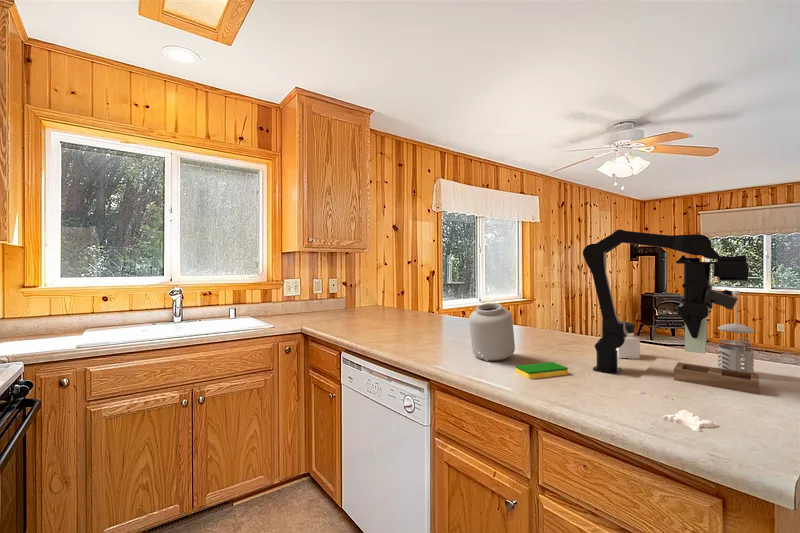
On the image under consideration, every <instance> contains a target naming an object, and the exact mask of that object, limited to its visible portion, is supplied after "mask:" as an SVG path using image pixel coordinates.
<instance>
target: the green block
mask: <svg viewBox="0 0 800 533" xmlns="http://www.w3.org/2000/svg"><path fill="white" fill-rule="evenodd" d="M707 327H708V316H707V317H706V318H704V319H703V320H702V322H701V326H700V330H699V334H698V337H697V338H692V336H691V334H690V332H689V330H688V328H687V326H686V324H685V323H684V352H685V353H686V352H688V353H695V354H703V355H705V354H706V353H707V342H708V341H707V340H708V339H707V338H708V337H707V334H708V332H707V331H708V328H707Z"/></svg>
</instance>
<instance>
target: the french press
mask: <svg viewBox="0 0 800 533" xmlns="http://www.w3.org/2000/svg"><path fill="white" fill-rule="evenodd" d="M732 295H733V296H734V295H735V297H737V298H738V296H741V291H740V290H733V291H732ZM737 306H738V301H737V302H736V304H735V322H734V323H726V324H722V325H720V326H718V327H717V329H718V330H719V331H721V332H727V333H733V334H734V335H735V337H734V339H735V340H732V339H722V340H720V341H719V342H720V344H721V345H718V347H717V353H718V354H717V357H718V359H717V362H718V363H717V365H718V366H717V368H721V369H728V370H734V371H741V372H748V373H755V371H754V369H755V368H754V367H755V366H754V365H755V364H754V363H755V362H754V360H755V359H754V358H755V356H754V355H755V350H754V349H753V344H752V342H751V339H750V338H749V336H746V338H745V340H743V338H742V336H738V340H737V334H753V333H754V332H755V330H754V329H753V328H751V327H749V326H747V325H744V324H739V323H737V322H738V320H737V316H738V315H737V312H738V310H737V309H738V307H737ZM747 341H748V342H747Z"/></svg>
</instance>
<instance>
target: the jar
mask: <svg viewBox="0 0 800 533" xmlns="http://www.w3.org/2000/svg"><path fill="white" fill-rule="evenodd" d="M487 289H488V290H487V292H490V287H487ZM488 297H490V298H491V299H492V300H493V296H491V294H489V296H488ZM484 298H485V297H482V300H484ZM468 324H469V331H470V332H469V334H470V340H471V341H470V342H471V349H472V353H473V355H474V356H476V357H477V358H479V359H480V360H484V361H490V362H491V361H492V362H494V361H495V362H497V361H503V360H505V359H508V358H510V357H511V356H512V355H513V354H514V353H515V351H516V350H515V349H516V345H515V333H514V322H513V314H512V312H510V311H509V310H508V309H506V308H504V307H503V305H502V304H501V303H499V302H498V301H497V302H496V303H495V302H489V303H488V302H487V303H481V304H479V305H477V306H476V307H475V310H474V311H472V312H471V313H470V314H469V317H468ZM488 365H491V363H488Z"/></svg>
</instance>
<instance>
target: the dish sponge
mask: <svg viewBox="0 0 800 533" xmlns="http://www.w3.org/2000/svg"><path fill="white" fill-rule="evenodd" d="M568 369H569V368H568V367H567V366H563V365H562V364H559V363H556V362H554V361H548V362H540V363H530V364H523V365H521V364H520V365H515V373H516V374H518V375H520V376H521V377H524V378H526V379H528V380H533V379H540V378H549V377H557V376H565V375H568V374H569V373H568V372H569V371H568Z"/></svg>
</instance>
